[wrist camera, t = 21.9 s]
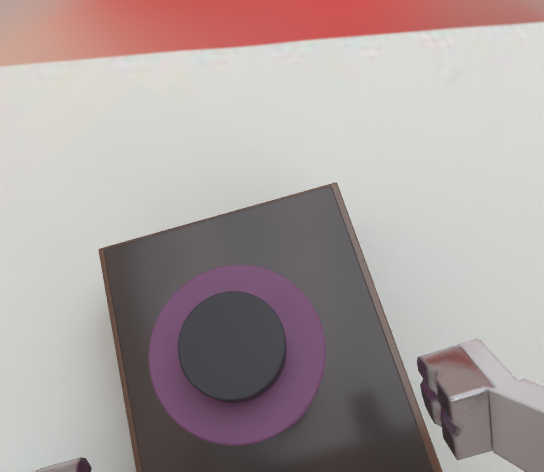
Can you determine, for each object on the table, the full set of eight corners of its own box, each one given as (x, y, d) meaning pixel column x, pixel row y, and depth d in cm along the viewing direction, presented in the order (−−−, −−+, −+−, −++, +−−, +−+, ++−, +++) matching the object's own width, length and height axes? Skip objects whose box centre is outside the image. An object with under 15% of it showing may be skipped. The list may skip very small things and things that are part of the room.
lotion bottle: (297, 308, 22) (295, 231, 13) (330, 418, 20) (354, 414, 12) (194, 338, 22) (120, 280, 13) (219, 451, 20) (156, 473, 11)
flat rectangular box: (331, 219, 30) (338, 172, 24) (436, 518, 24) (477, 547, 19) (130, 276, 29) (89, 241, 24) (191, 596, 24) (157, 649, 18)
